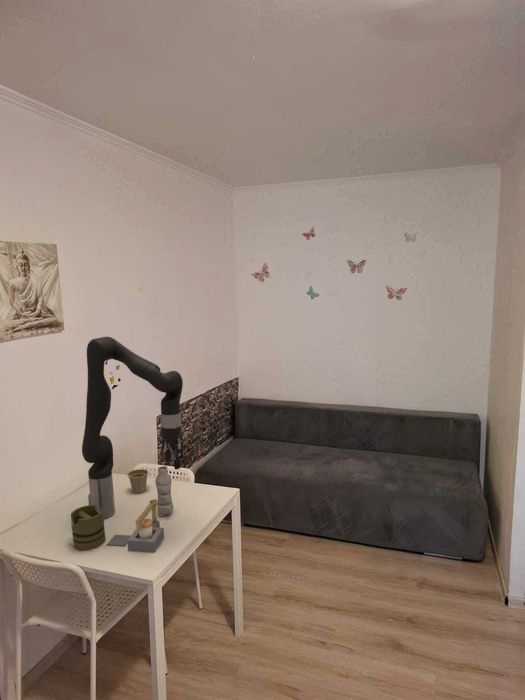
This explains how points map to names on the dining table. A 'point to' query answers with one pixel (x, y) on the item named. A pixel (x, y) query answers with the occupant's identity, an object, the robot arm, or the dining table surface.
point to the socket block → (147, 544)
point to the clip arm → (145, 514)
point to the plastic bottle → (164, 492)
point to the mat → (118, 540)
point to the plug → (146, 529)
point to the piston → (87, 528)
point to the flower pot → (138, 480)
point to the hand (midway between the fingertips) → (172, 465)
